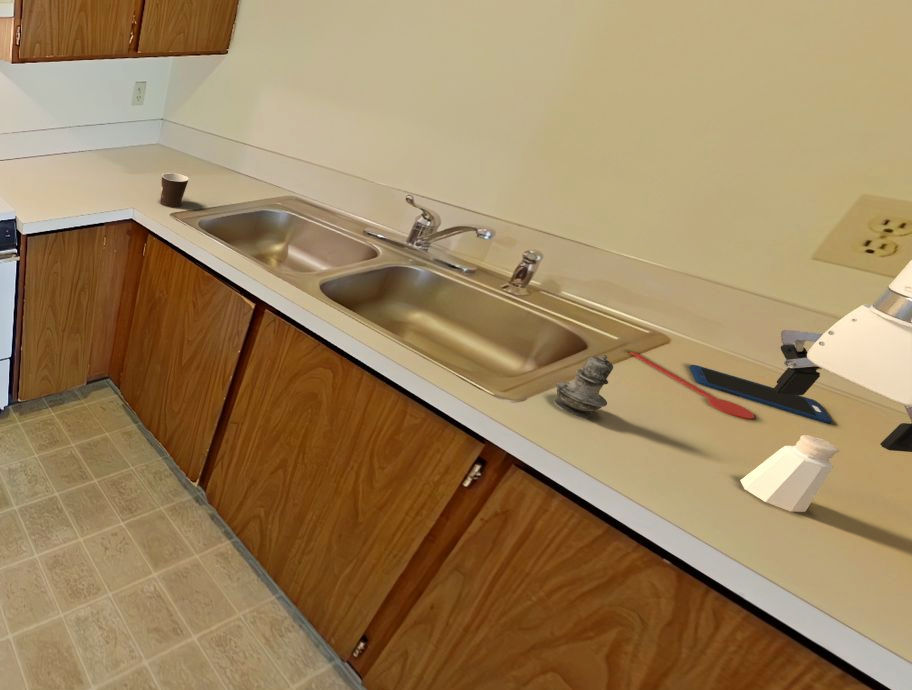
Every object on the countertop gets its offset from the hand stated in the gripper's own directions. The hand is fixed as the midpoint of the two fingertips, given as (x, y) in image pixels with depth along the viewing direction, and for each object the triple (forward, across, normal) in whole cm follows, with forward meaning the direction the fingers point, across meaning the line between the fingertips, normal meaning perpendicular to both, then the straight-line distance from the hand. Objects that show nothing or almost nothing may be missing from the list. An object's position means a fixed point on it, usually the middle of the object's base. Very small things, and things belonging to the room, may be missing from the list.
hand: (838, 419), depth 68 cm
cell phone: (+15, +23, -27) cm, 38 cm away
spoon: (+15, +25, -17) cm, 33 cm away
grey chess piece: (+16, +16, +11) cm, 25 cm away
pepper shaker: (+15, 0, -1) cm, 15 cm away
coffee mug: (+16, +108, +52) cm, 121 cm away
